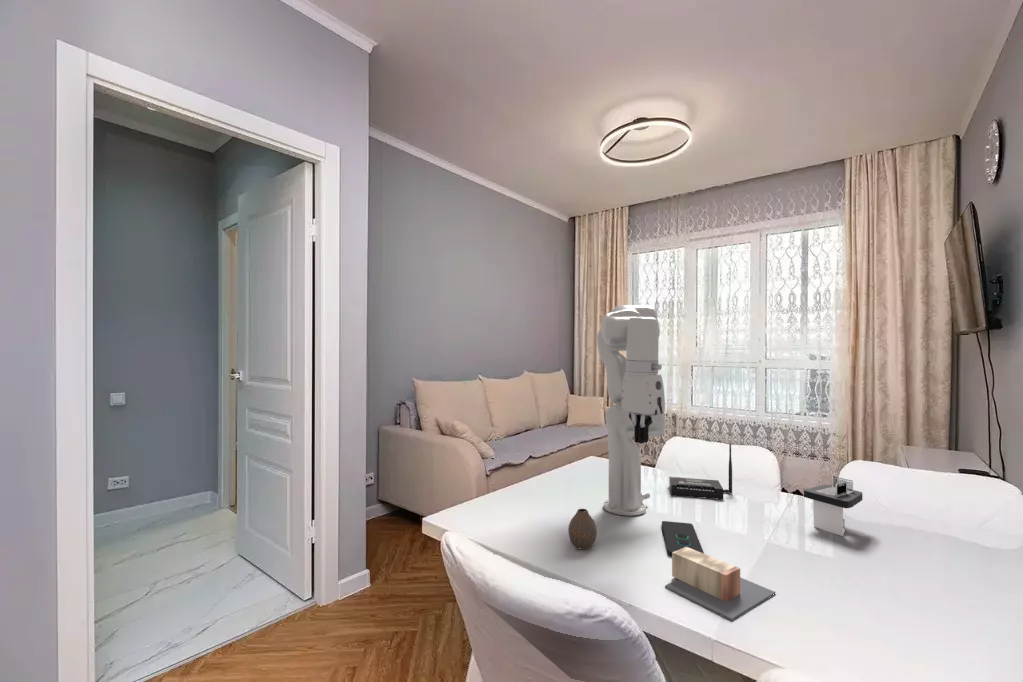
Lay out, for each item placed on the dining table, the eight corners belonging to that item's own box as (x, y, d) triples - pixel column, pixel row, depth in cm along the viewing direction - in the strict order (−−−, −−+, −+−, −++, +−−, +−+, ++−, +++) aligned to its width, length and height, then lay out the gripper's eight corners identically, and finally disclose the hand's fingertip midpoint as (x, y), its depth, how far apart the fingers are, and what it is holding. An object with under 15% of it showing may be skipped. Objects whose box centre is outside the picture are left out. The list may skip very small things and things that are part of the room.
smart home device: (667, 550, 108) (660, 520, 127) (667, 558, 108) (660, 526, 127) (705, 554, 106) (692, 523, 125) (705, 562, 106) (692, 529, 125)
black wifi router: (671, 498, 152) (671, 446, 152) (669, 486, 165) (669, 438, 165) (738, 504, 146) (737, 449, 147) (729, 491, 160) (729, 441, 160)
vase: (598, 542, 115) (598, 507, 115) (594, 554, 109) (594, 516, 109) (571, 538, 117) (571, 504, 118) (565, 549, 111) (565, 513, 111)
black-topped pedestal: (865, 560, 107) (865, 502, 107) (759, 522, 130) (759, 475, 131) (920, 537, 120) (920, 486, 121) (815, 507, 144) (814, 464, 144)
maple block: (686, 546, 100) (740, 568, 90) (686, 569, 100) (740, 593, 90) (672, 552, 97) (726, 575, 88) (672, 576, 97) (726, 601, 87)
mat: (710, 566, 103) (710, 564, 103) (775, 594, 91) (775, 592, 91) (665, 587, 93) (665, 585, 93) (731, 620, 82) (731, 618, 82)
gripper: (678, 369, 108) (677, 446, 109) (628, 364, 121) (627, 434, 121) (658, 370, 104) (657, 451, 105) (608, 366, 116) (607, 438, 117)
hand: (641, 441), depth 113 cm, fingers closed
